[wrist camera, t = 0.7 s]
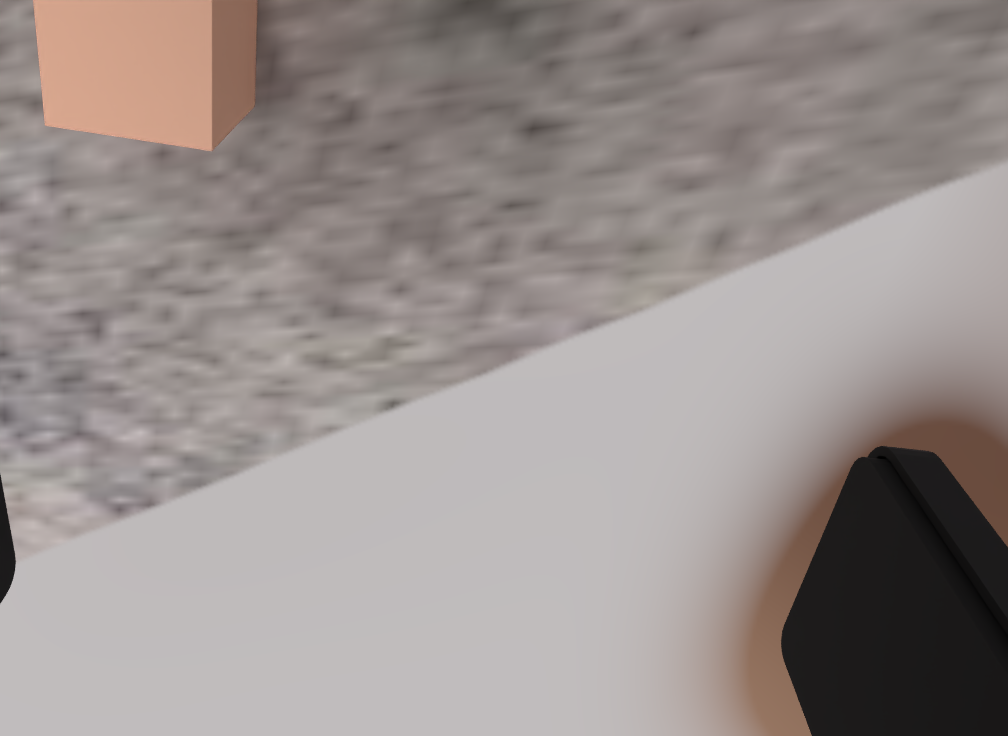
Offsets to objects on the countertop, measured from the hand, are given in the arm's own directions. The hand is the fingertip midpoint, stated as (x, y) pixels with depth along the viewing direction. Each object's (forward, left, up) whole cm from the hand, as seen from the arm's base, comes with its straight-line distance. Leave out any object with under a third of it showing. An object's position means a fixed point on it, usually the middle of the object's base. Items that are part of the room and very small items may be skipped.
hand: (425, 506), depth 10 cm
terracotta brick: (-2, -10, -26) cm, 27 cm away
